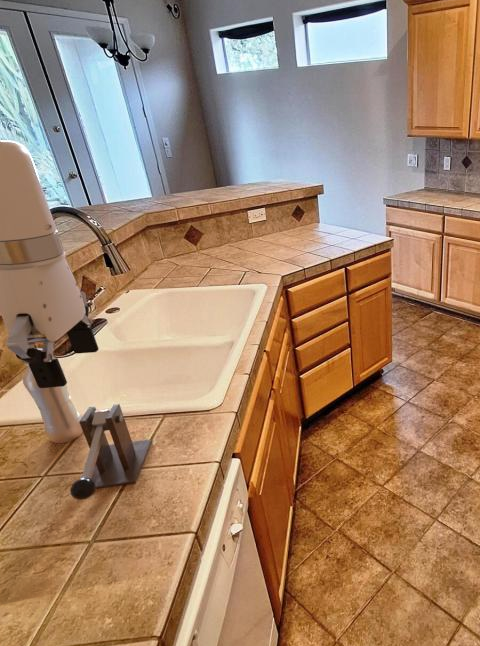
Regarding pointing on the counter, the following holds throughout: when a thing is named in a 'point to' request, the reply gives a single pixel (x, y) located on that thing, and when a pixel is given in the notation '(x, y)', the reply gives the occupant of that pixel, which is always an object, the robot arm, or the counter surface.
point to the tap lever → (91, 459)
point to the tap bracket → (115, 450)
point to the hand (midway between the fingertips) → (71, 367)
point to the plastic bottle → (54, 409)
